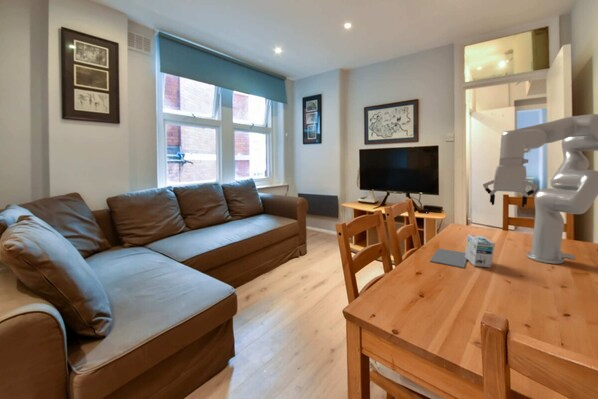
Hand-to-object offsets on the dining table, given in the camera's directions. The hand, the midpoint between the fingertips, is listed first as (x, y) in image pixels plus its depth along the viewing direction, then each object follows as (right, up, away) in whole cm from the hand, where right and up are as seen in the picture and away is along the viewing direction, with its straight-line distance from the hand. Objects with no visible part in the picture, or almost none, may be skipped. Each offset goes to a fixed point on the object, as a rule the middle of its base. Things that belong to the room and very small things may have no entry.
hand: (507, 205), depth 110 cm
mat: (-15, -24, +15) cm, 32 cm away
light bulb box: (-6, -25, +9) cm, 27 cm away
